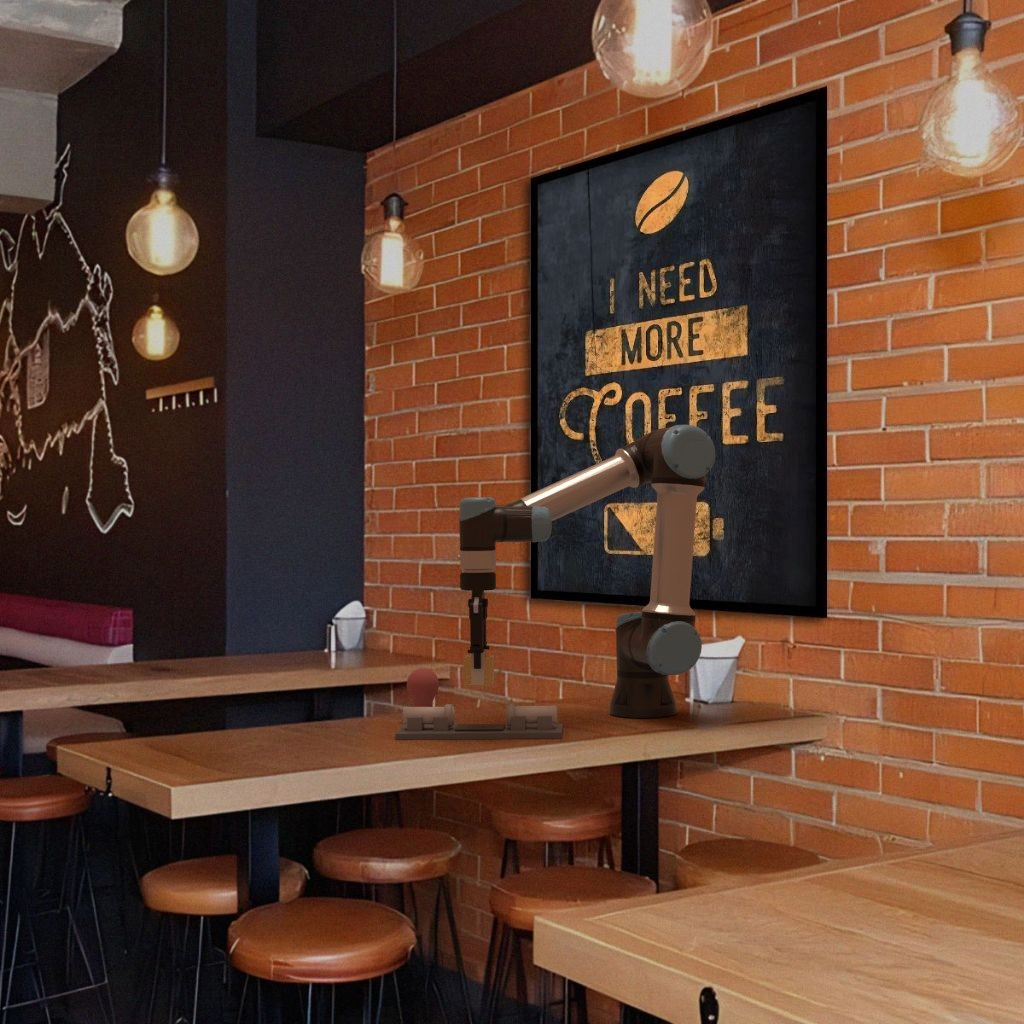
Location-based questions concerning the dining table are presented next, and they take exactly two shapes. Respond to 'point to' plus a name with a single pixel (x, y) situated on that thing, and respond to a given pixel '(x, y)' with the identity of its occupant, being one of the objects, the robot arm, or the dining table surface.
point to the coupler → (487, 666)
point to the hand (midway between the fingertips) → (479, 682)
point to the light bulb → (422, 687)
